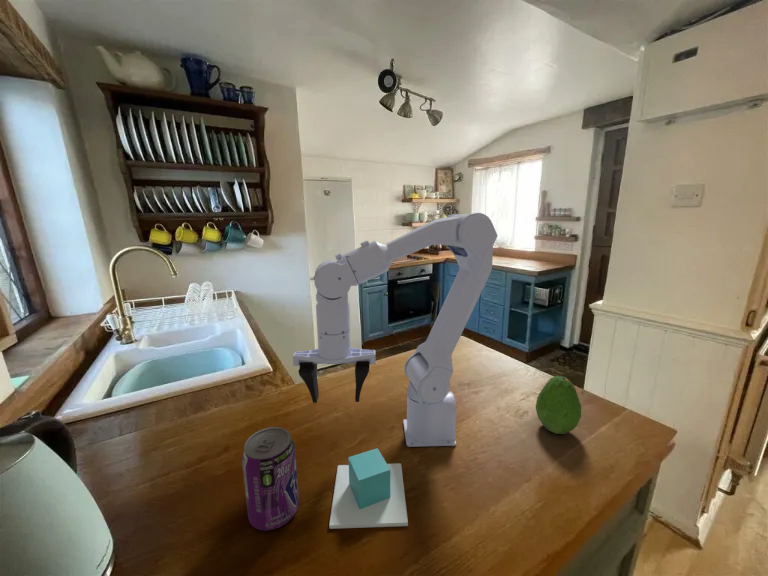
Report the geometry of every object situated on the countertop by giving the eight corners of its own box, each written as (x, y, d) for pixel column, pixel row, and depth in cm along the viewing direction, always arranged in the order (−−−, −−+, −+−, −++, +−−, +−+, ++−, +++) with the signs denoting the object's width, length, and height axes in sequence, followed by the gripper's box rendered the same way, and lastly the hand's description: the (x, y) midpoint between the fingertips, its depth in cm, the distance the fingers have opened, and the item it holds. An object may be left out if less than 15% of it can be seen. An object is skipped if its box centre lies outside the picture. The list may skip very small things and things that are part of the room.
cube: (377, 474, 53) (377, 448, 52) (390, 497, 48) (390, 469, 47) (349, 484, 51) (348, 457, 50) (359, 509, 46) (358, 480, 45)
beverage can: (284, 539, 42) (277, 463, 40) (237, 529, 44) (228, 455, 41) (307, 495, 49) (302, 427, 47) (266, 488, 51) (259, 422, 48)
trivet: (401, 466, 55) (401, 463, 55) (407, 525, 44) (407, 522, 44) (338, 468, 55) (337, 465, 55) (329, 528, 44) (329, 525, 44)
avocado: (552, 446, 60) (559, 388, 57) (526, 420, 67) (531, 369, 65) (588, 439, 61) (596, 383, 59) (558, 416, 69) (564, 365, 66)
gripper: (375, 321, 59) (375, 387, 62) (297, 322, 59) (301, 388, 62) (375, 334, 52) (376, 408, 55) (287, 336, 52) (292, 410, 55)
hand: (336, 399), depth 58 cm, fingers open, 7 cm apart
